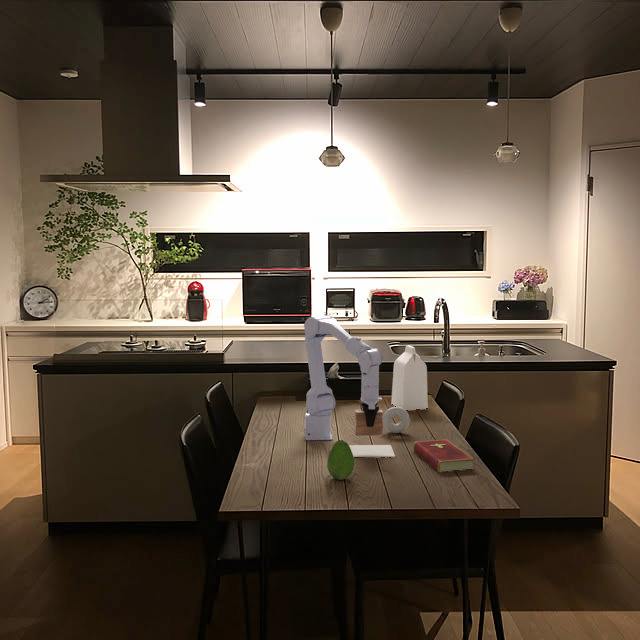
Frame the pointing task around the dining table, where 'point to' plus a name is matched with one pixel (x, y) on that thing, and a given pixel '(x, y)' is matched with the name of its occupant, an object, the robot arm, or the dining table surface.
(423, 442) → the hardcover book
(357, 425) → the tan wooden block
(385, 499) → the dining table surface
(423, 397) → the milk
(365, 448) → the mat
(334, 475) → the fruit
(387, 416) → the donut
